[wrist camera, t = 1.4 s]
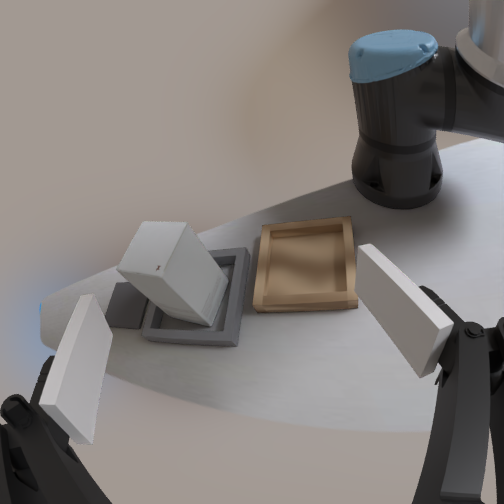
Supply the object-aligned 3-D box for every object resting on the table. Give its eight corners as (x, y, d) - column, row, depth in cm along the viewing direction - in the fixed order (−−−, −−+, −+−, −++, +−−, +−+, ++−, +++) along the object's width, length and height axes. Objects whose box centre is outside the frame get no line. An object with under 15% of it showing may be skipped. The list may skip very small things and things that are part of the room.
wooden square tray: (266, 234, 45) (262, 225, 43) (351, 226, 41) (350, 216, 39) (257, 312, 38) (252, 305, 36) (358, 307, 34) (358, 299, 32)
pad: (117, 283, 49) (116, 282, 48) (153, 282, 46) (151, 281, 46) (103, 326, 44) (102, 325, 44) (140, 329, 42) (138, 328, 41)
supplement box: (231, 280, 42) (190, 220, 32) (212, 328, 38) (159, 279, 29) (188, 273, 45) (142, 219, 36) (168, 317, 42) (113, 269, 32)
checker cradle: (167, 262, 48) (161, 255, 46) (250, 255, 44) (245, 247, 42) (146, 340, 40) (138, 335, 39) (237, 346, 36) (231, 340, 34)
